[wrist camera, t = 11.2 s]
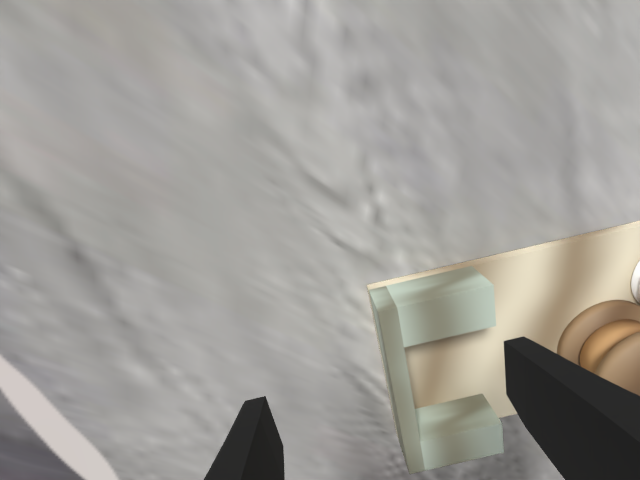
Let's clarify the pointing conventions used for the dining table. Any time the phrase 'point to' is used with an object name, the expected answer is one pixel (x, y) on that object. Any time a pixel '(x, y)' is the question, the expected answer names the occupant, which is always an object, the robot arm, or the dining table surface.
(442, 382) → the station
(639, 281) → the chess piece
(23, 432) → the dining table surface
